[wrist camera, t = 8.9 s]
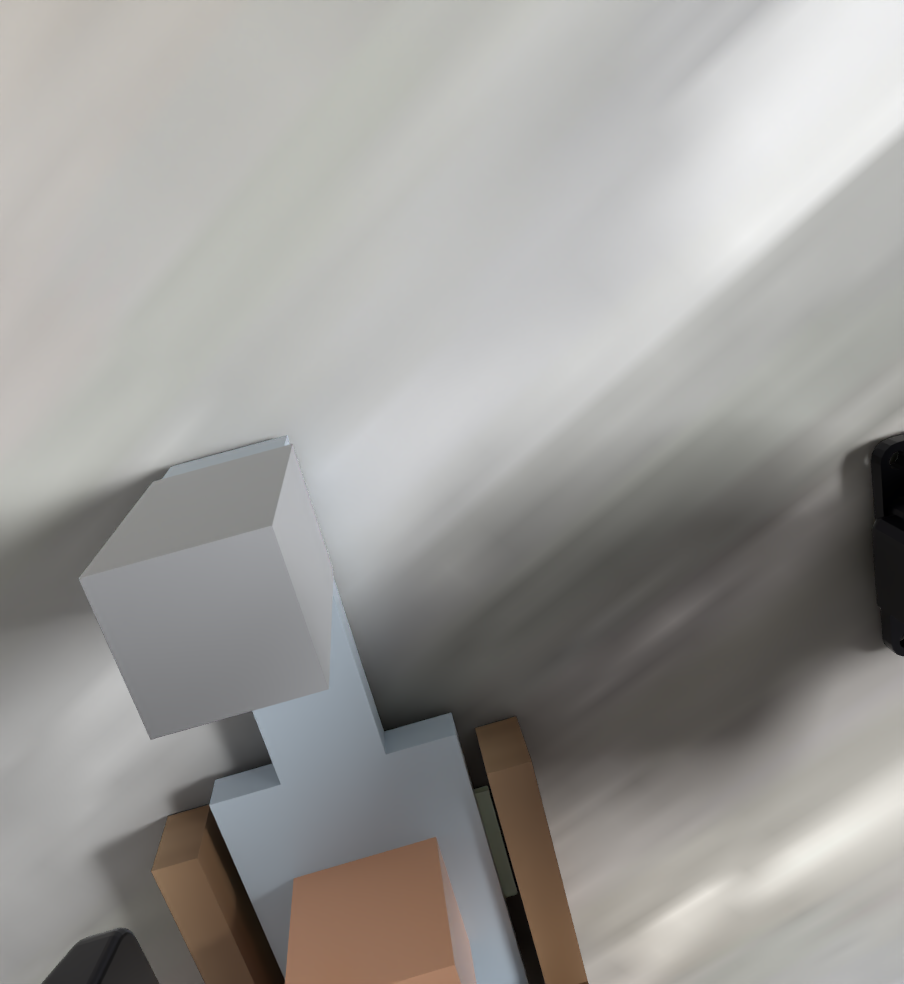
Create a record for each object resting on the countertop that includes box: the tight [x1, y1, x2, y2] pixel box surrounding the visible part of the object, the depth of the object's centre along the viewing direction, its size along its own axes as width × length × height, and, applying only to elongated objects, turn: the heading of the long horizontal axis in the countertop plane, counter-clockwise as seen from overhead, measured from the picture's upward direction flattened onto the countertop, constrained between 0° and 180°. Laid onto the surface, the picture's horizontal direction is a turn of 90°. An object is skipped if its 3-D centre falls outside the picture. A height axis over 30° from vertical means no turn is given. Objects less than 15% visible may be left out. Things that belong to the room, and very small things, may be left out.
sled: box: [78, 435, 529, 984], centre depth 19 cm, size 7×19×6 cm, turn 14°
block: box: [285, 837, 477, 984], centre depth 20 cm, size 4×4×4 cm
